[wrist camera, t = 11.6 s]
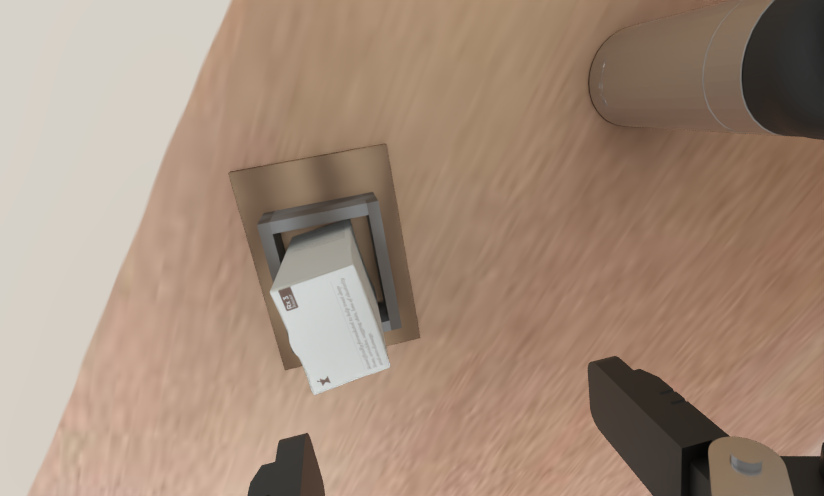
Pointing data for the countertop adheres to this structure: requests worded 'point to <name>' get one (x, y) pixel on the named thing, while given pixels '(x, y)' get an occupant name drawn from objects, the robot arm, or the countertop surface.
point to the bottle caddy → (323, 205)
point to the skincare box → (330, 307)
